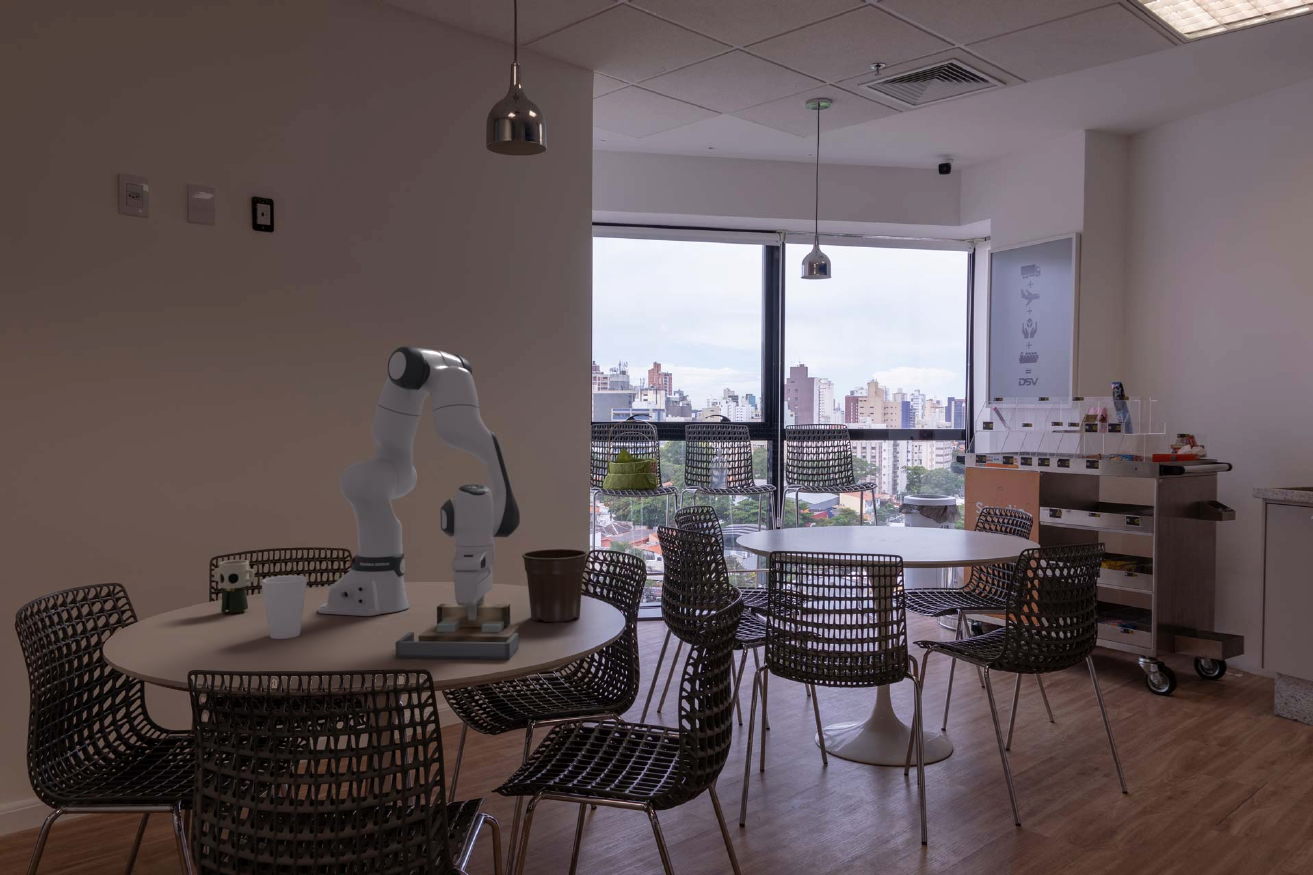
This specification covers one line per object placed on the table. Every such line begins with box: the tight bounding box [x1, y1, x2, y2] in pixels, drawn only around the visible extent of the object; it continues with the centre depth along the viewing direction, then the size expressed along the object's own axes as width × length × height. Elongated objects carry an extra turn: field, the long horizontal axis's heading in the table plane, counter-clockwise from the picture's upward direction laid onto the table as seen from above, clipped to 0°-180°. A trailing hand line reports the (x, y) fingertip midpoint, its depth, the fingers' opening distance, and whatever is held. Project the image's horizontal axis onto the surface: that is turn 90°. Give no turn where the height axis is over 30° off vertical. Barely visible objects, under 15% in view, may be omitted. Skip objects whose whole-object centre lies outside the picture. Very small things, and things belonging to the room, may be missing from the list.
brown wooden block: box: [436, 603, 511, 627], centre depth 210 cm, size 16×4×4 cm, turn 87°
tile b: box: [482, 621, 504, 632], centre depth 206 cm, size 4×4×2 cm
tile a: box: [436, 621, 460, 632], centre depth 207 cm, size 4×4×2 cm
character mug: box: [213, 559, 255, 614], centre depth 236 cm, size 11×7×13 cm, turn 82°
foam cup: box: [261, 575, 307, 640], centre depth 212 cm, size 10×9×13 cm
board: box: [418, 624, 520, 642], centre depth 206 cm, size 20×10×2 cm, turn 87°
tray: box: [395, 631, 519, 661], centre depth 196 cm, size 24×9×3 cm, turn 87°
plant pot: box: [521, 548, 588, 623], centre depth 230 cm, size 16×16×16 cm
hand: (475, 617), depth 210 cm, fingers closed on brown wooden block, 3 cm apart
